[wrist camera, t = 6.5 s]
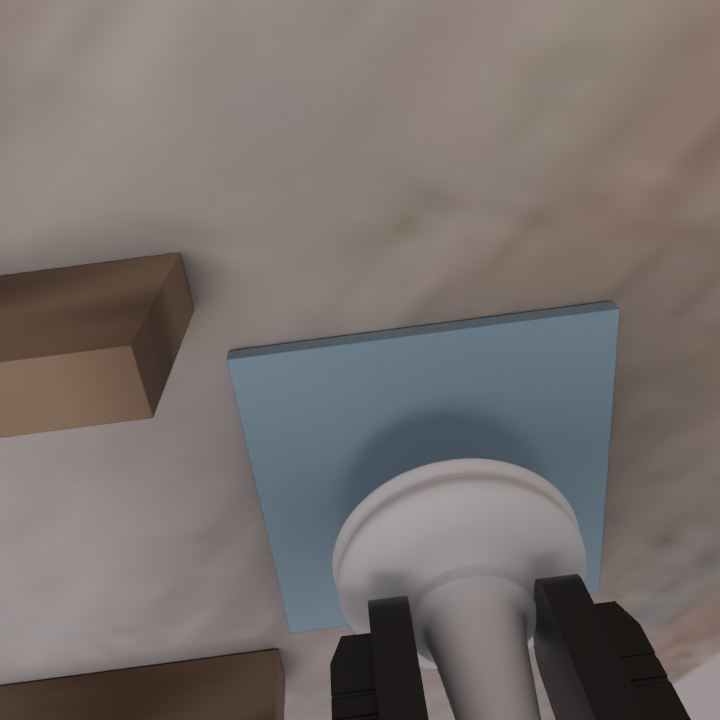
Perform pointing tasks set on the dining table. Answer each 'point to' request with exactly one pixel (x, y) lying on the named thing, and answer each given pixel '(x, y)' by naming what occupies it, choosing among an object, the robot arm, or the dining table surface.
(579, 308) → the pad
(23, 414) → the wooden blocks
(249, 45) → the dining table surface
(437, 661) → the chess piece
